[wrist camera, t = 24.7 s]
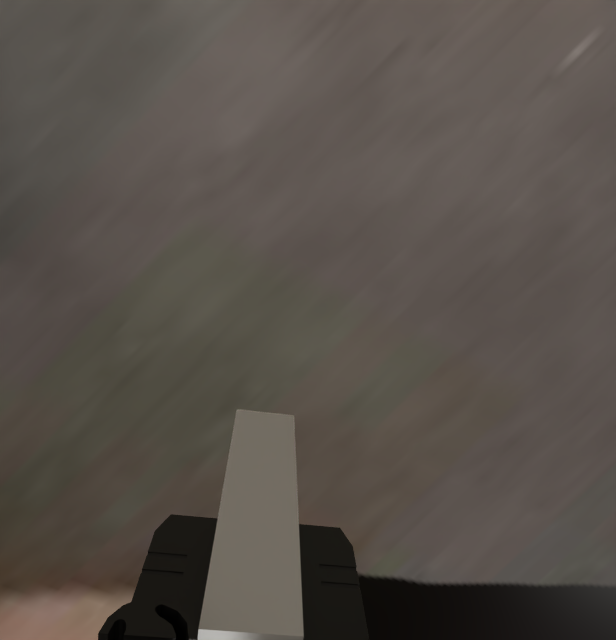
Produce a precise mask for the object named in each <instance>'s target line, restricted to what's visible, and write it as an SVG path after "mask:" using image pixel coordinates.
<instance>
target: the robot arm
mask: <svg viewBox="0 0 616 640" xmlns="http://www.w3.org/2000/svg"><path fill="white" fill-rule="evenodd" d="M98 640H369V637H368V630H367V625H366V619H365V614H364V608H363V602H362V596H361V591H360V589H359V580H358V574H357V571H356V562H355V557H354V551H353V546H352V545H351V543H350V542H349V540H348V539H347V537H346V536H345V535H344V533H343V532H342V530H341V529H340V528H335V527H324V526H313V525H302V524H299V517H298V494H297V472H296V449H295V426H294V415H286V414H277V413H267V412H258V411H249V410H240V409H237V411H236V417H235V423H234V428H233V434H232V440H231V445H230V451H229V457H228V463H227V468H226V474H225V480H224V486H223V491H222V497H221V503H220V509H219V514H218V519H216V518H205V517H194V516H182V515H170V516H169V517H168V518H167V519H166V520H165V521H164V522H163V523H162V524H161V525H160V526H159V527H158V528H157V529H156V530H155V532H154V535H153V538H152V541H151V544H150V547H149V550H148V555H147V556H146V559H145V562H144V565H143V568H142V573H141V574H140V577H139V581H138V584H137V587H136V590H135V593H134V596H133V599H132V602H130V603H128V604H125V605H123V606H122V607H121V608H119V609H118V610H117V611H116V612H114V613H113V614H112V615H111V616H109V617H108V619H107V620H106V622H105V623H104V625H103V627H102V628H101V630H100V631H99V633H98Z"/></svg>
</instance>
